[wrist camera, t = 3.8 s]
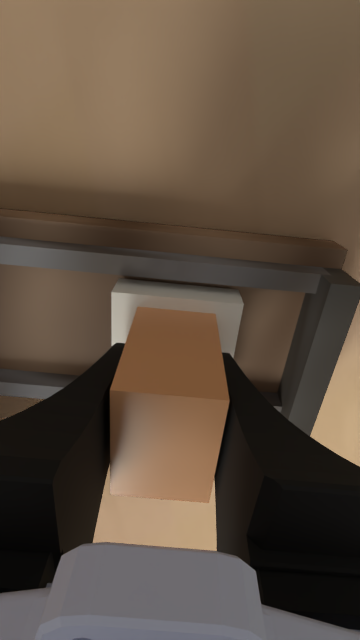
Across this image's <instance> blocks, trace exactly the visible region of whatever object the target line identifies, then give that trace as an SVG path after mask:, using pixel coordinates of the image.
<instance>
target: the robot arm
mask: <svg viewBox="0 0 360 640" xmlns="http://www.w3.org/2000/svg"><path fill="white" fill-rule="evenodd" d="M124 346H125V343H115V344H114V345H113V346H112V347H111V348H110V349H109V350H108V351H107V352H106V353H105V354H104V355H103V356H102V357H101V358H100V359H99V360H97V361H96V362H95V363H94V364H93V365H92V366H91V367H90V368H88V369H87V370H86V371H85V372H84V373H83V374H81V375H80V376H79V377H77V378H76V379H75V380H74V381H72V382H71V383H70V384H68V385H67V386H66V387H64V388H63V389H61V390H60V391H58V392H56V393H55V394H53V395H52V396H50V397H48V398H47V399H45V400H43V401H41V402H39V403H37V404H35V405H34V406H32V407H30V408H28V409H26V410H24V411H22V412H20V413H18V414H15V415H13V416H11V417H9V418H6V419H4V420H1V421H0V640H360V467H359V466H357V465H355V464H353V463H352V462H350V461H348V460H346V459H344V458H342V457H341V456H339V455H337V454H336V453H334V452H333V451H331V450H329V449H328V448H326V447H325V446H323V445H321V444H320V443H319V442H317V441H316V440H314V439H313V438H311V437H310V436H308V435H307V434H306V433H304V432H303V431H302V430H301V429H299V428H298V427H297V426H295V425H294V424H293V423H292V422H290V421H289V420H288V419H287V418H286V417H284V416H283V415H282V414H281V413H280V412H279V411H278V410H277V409H276V408H274V407H273V406H272V405H271V404H270V403H269V402H268V401H267V399H266V398H265V397H264V396H263V395H262V394H261V393H260V392H259V391H258V390H257V389H256V387H255V386H254V385H253V384H252V383H251V381H250V380H249V379H248V378H247V376H246V375H245V374H244V372H243V371H242V370H241V368H240V367H239V366H238V364H237V363H236V361H235V360H234V359H233V357H232V356H231V355H230V353H224V352H222V356H223V363H224V369H225V375H226V381H227V387H228V393H229V400H230V401H229V406H228V411H227V416H226V421H225V426H224V431H223V436H222V441H221V446H220V451H219V456H218V461H217V466H216V471H215V476H214V478H215V498H216V530H217V551H209V550H197V549H185V548H172V547H160V546H148V545H135V544H123V543H110V542H101V543H92V542H93V537H94V532H95V527H96V523H97V518H98V513H99V508H100V503H101V499H102V494H103V489H104V485H105V480H106V476H107V471H108V468H109V464H110V388H111V385H112V382H113V379H114V376H115V373H116V370H117V367H118V364H119V361H120V358H121V355H122V352H123V349H124Z"/></svg>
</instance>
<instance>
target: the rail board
mask: <svg viewBox="0 0 360 640" xmlns="http://www.w3.org/2000/svg"><path fill="white" fill-rule="evenodd" d="M347 251H348V250H347V249H345V248H343V247H342V246H340V245H339V244H337V243H335V242H334V241H327V240H316V239H306V238H296V237H286V236H276V235H265V234H255V233H245V232H235V231H224V230H214V229H204V228H194V227H183V226H173V225H163V224H153V223H142V222H132V221H122V220H112V219H101V218H91V217H81V216H71V215H60V214H50V213H40V212H30V211H19V210H9V209H0V395H3V396H14V397H26V398H37V399H47V398H48V397H50V396H52V395H53V394H55V393H56V392H58V391H60V390H61V389H63V388H64V387H66V386H67V385H68V384H70V383H71V382H72V381H74V380H75V379H76V378H77V377H79V376H80V375H81V374H83V373H84V372H85V371H86V370H87V369H88V368H90V367H91V366H92V365H93V364H94V363H95V362H96V361H97V360H99V359H100V358H101V357H102V356H103V355H104V354H105V353H106V352H107V351H108V350H109V349H110V348H111V347H112V333H111V292H112V290H113V288H114V286H115V285H116V283H117V281H118V279H119V278H120V279H131V280H142V281H152V282H163V283H173V284H184V285H195V286H205V287H216V288H226V289H237V290H239V292H240V295H241V298H242V301H243V304H244V306H243V311H242V316H241V321H240V326H239V331H238V337H237V342H236V347H235V352H234V357H233V359H234V360H235V361H236V363H237V364H238V366H239V367H240V368H241V370H242V371H243V372H244V374H245V375H246V376H247V378H248V379H249V380H250V381H251V383H252V384H253V385H254V386H255V387H256V389H257V390H258V391H259V392H260V393H261V394H262V395H263V396H264V397H265V398H266V399H267V401H268V402H269V403H270V404H271V405H272V406H273V407H274V408H276V409H277V410H278V411H279V412H280V413H281V414H282V415H283V416H284V417H286V418H287V419H288V420H289V421H290V422H292V423H293V424H294V425H295V426H297V427H298V428H299V429H301V430H302V431H303V432H304V433H306V434H307V435H308V436H310V434H311V432H312V429H313V426H314V423H315V421H316V418H317V415H318V413H319V410H320V407H321V404H322V402H323V399H324V396H325V393H326V391H327V388H328V385H329V382H330V380H331V377H332V374H333V371H334V369H335V366H336V363H337V360H338V358H339V355H340V352H341V349H342V347H343V344H344V341H345V338H346V336H347V333H348V330H349V327H350V325H351V322H352V319H353V316H354V314H355V311H356V308H357V305H358V303H359V300H360V283H359V282H357V281H356V280H355V279H353V278H352V277H351V276H350V275H348V274H347V273H346V272H344V271H343V270H342V266H343V263H344V260H345V257H346V254H347Z"/></svg>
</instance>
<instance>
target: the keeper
mask: <svg viewBox="0 0 360 640" xmlns="http://www.w3.org/2000/svg"><path fill="white" fill-rule="evenodd" d="M243 306H244V304H243V301H242V298H241V295H240V292H239V290H237V289H226V288H216V287H205V286H195V285H184V284H173V283H163V282H152V281H142V280H131V279H120V278H119V279H118V281H117V283H116V285H115V286H114V288H113V290H112V292H111V333H112V346H113V345H114V344H115V343H125V346H124V349H123V352H122V355H121V358H120V361H119V364H118V367H117V370H116V373H115V376H114V379H113V382H112V385H111V388H110V495H118V496H130V497H142V498H154V499H167V500H179V501H191V502H203V503H209V500H210V495H211V490H212V485H213V480H214V476H215V471H216V466H217V461H218V456H219V451H220V446H221V441H222V436H223V431H224V426H225V421H226V416H227V411H228V406H229V401H230V400H229V393H228V387H227V381H226V375H225V369H224V363H223V356H222V352H224V353H230V355H231V356H232V357H234V352H235V347H236V342H237V337H238V331H239V326H240V321H241V316H242V311H243Z"/></svg>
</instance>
